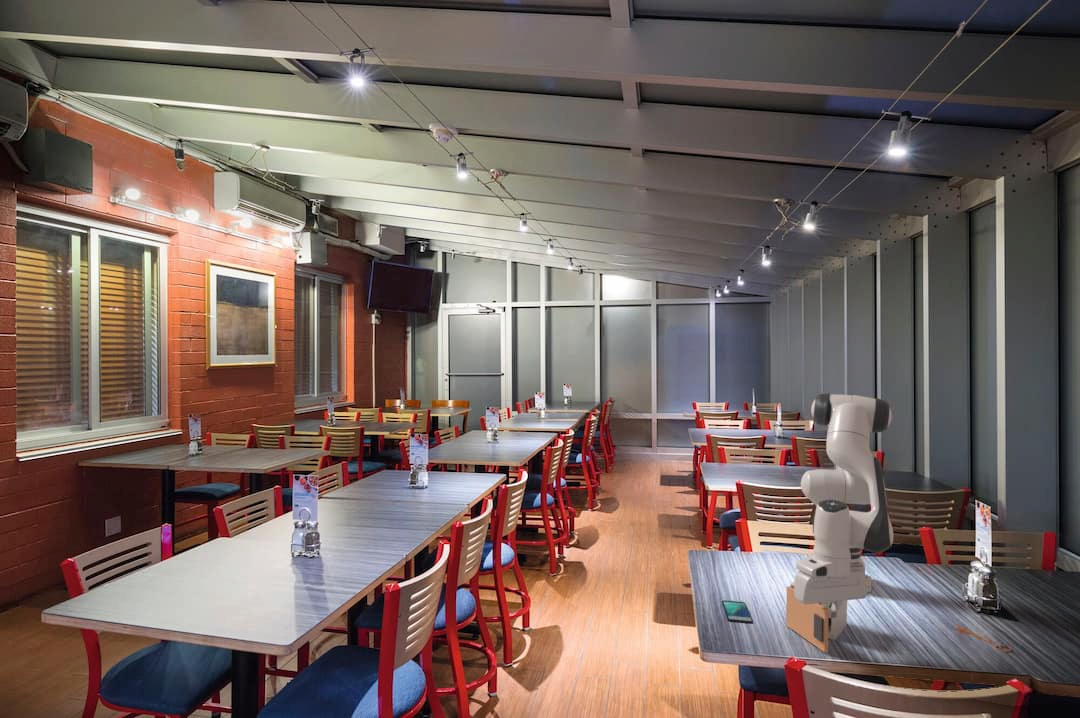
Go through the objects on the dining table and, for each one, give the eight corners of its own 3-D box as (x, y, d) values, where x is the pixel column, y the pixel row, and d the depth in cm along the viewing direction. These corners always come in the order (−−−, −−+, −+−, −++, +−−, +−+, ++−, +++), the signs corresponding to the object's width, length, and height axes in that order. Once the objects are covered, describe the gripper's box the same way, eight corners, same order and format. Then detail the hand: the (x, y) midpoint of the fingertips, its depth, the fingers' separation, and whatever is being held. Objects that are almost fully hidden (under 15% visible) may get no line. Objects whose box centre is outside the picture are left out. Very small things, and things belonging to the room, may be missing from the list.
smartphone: (728, 620, 171) (721, 599, 186) (728, 623, 171) (721, 602, 186) (753, 623, 170) (745, 602, 185) (753, 625, 170) (745, 604, 185)
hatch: (789, 624, 169) (789, 586, 169) (827, 652, 153) (828, 609, 153) (784, 625, 169) (784, 586, 169) (822, 652, 153) (823, 610, 153)
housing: (802, 613, 178) (803, 573, 178) (846, 625, 170) (847, 583, 170) (789, 626, 169) (790, 584, 169) (835, 639, 161) (835, 595, 161)
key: (947, 630, 170) (996, 655, 156) (947, 627, 170) (996, 652, 156) (964, 627, 171) (1014, 652, 157) (964, 624, 171) (1014, 648, 157)
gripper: (855, 557, 161) (854, 608, 161) (790, 562, 156) (789, 615, 156) (873, 565, 155) (873, 618, 155) (807, 571, 150) (806, 626, 150)
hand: (830, 617), depth 155 cm, fingers closed
